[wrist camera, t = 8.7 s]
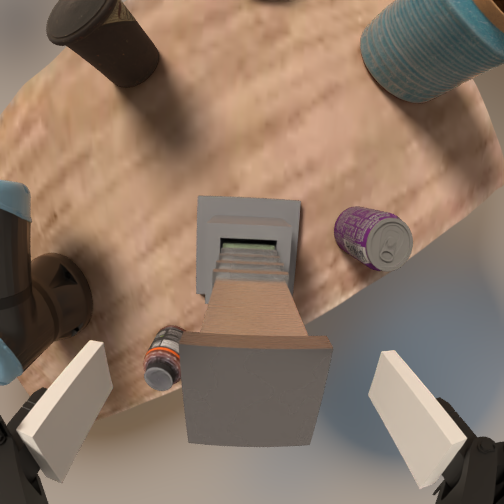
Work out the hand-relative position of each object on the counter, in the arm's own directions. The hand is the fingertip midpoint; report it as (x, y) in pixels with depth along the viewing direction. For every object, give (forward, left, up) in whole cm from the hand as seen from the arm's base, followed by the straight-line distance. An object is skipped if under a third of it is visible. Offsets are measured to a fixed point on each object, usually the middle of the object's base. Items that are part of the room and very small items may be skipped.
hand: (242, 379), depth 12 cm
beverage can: (+16, +3, -31) cm, 35 cm away
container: (-19, +28, -31) cm, 46 cm away
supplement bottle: (-11, -16, -31) cm, 36 cm away
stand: (0, 0, -31) cm, 31 cm away
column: (0, 0, -21) cm, 21 cm away
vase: (+24, +33, -31) cm, 51 cm away
